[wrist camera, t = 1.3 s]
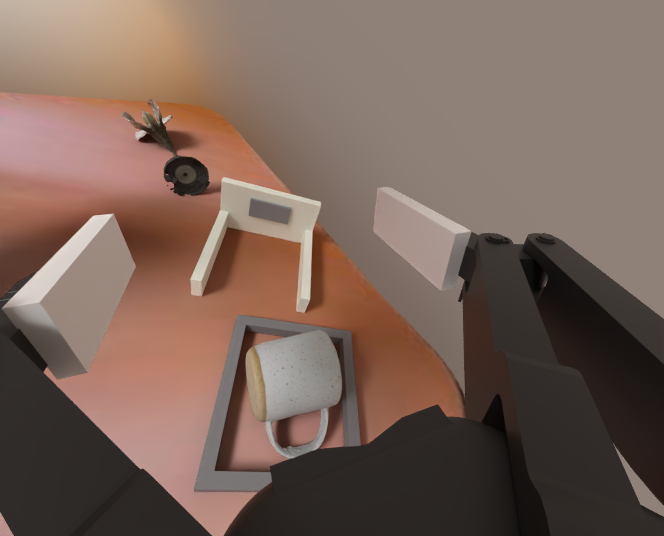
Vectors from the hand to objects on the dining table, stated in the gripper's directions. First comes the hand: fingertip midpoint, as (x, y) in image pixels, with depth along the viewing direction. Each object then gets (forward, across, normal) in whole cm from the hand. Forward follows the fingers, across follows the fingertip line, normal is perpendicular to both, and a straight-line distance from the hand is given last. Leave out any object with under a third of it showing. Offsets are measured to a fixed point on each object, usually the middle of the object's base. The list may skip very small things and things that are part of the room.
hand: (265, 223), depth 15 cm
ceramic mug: (+4, +1, -22) cm, 23 cm away
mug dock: (+23, 0, -16) cm, 28 cm away
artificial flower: (+48, -12, -5) cm, 49 cm away
